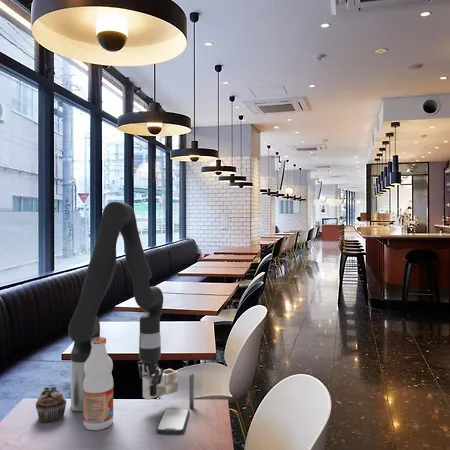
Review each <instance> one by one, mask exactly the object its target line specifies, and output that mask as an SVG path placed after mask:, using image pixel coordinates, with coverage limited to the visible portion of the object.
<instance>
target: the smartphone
mask: <svg viewBox="0 0 450 450" xmlns="http://www.w3.org/2000/svg"><path fill="white" fill-rule="evenodd" d="M189 416H190V410H189V409H186V408H166V409H164V411H163V413H162V415H161V418H160V421H159V422H158V425H157V428H156V434H159V435H182V434H184V433H185V429H186V427H187V423H188V420H189Z"/></svg>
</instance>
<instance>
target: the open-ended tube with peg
mask: <svg viewBox="0 0 450 450" xmlns="http://www.w3.org/2000/svg"><path fill="white" fill-rule="evenodd" d="M153 375H155V374H153ZM151 376H152V375H151ZM153 379H154V378H153ZM153 379H152V381H153ZM177 392H179V372H178V371H177V370H174V369H172V368H167V369H163V375H162V379H161V383H160V384H157V393H156V395H155V396H150V379H148V376H144V377H143V379H142V398H144V399H145V400H147V401H149V400H153V399H155V398H158V397H161V396H165V395H166V396H168V395H171V394H173V393H177Z"/></svg>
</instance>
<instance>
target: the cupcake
mask: <svg viewBox="0 0 450 450" xmlns="http://www.w3.org/2000/svg"><path fill="white" fill-rule="evenodd" d="M66 407H67V400H66V399H65V398H64V395H63V393H62V392H60V390H59V389H58V388H57V387H56V386H53V387H51V388H50V387H46V386H45V387H44V388H43V389H42V391H41V392H40V394H39V397H38V398H37V401H36V403H35V409H36V413H37V417H38V420H39V422H40V423H43V424H49V423H55V422H59V421H61V420H62V419H63V418H64V416H65V413H66V412H65V411H66Z"/></svg>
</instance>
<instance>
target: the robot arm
mask: <svg viewBox="0 0 450 450" xmlns="http://www.w3.org/2000/svg"><path fill="white" fill-rule="evenodd" d="M100 219H101V220H100V225H99V229H98V234H97V238H96V241H95V244H94V247H93V251H92V254H91V258H90V260H89V263H88V266H87V268H86V269H87V270H86V273H85V277H84V280H83V283H82V287H81V292H80V296H79V300H78V303H77V305H76V308H75V309H74V312H73V315H72V317H71V319H70V322H69V323H68V327H67V331H68V336H69V338H70V339H71V341H73V347H72V349H71V352H70V409H71V410H72V411H74V412H82V413H83V384H84V379H85V372H84V364H85V361H86V360H87V359H88V357H89V355H90V352H91V348H92V345H91V339H92V338H96V337H101V325H100V324H101V323H100V320H99V318H98V316H97V315H98V311H99V308H100V305H101V303H102V301H103V299H104V297H105V296H106V295H107V292H108V290H109V288H110V286H111V284H112V281H113V278H114V275H115V271H116V267H117V242H118V238H119V235H121V238H122V240H123V244H124V253H125V262H126V266H127V269H128V272H129V274H130V277H131V279H132V287H133V288H132V290H133V297H134V300H135V302H136V305H138V307H139V308H141V309H143V310H144V313H143V314H142V315H141V316H140V318H139V335H138V358H139V361H137V367H138V373H139V378H140V380H141V379H142V380H143V377H144V376H148V379H150V396H155V395H156V393H157V384H160V383H161V379H162V375H163V370H164V369H163V368H160V367H159V362H158V361H159V360H160V359H161V356H162V344H161V343H162V341H161V340H162V338H161V321H160V319H161V315H162V312H163V311H162V310H163V307H164V295H163V291H162V289H160V287H158V286H153V285H152V286H150V285H151V284H150V279H151V278H152V277H153V274H152V270H151V267H150V265H149V262H148V259H147V257H146V254H145V250H144V249H143V248H144V247H143V244H142V241H141V237H140V233H139V227H138V224H137V223H138V222H137V217H136V214H135V210H134V208H133V207H132V206H131V205H130V204H128V203H126V202H122V201H118V200H113V201H110V202H108V203H107V204H106V205H105V207H104V209H103V212H102V214H101V218H100ZM153 374H155V375H153ZM151 375H152V376H151ZM153 378H154V379H153ZM152 379H153V381H152Z"/></svg>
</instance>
